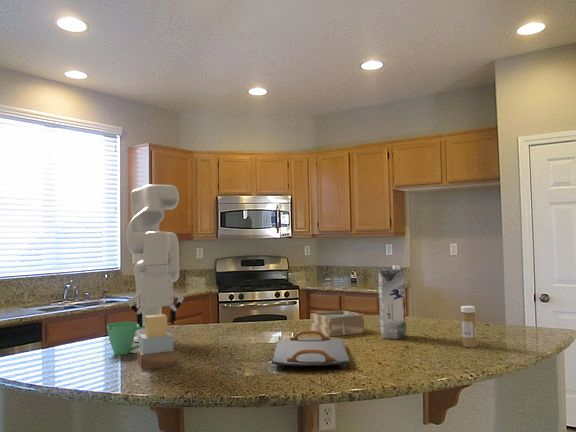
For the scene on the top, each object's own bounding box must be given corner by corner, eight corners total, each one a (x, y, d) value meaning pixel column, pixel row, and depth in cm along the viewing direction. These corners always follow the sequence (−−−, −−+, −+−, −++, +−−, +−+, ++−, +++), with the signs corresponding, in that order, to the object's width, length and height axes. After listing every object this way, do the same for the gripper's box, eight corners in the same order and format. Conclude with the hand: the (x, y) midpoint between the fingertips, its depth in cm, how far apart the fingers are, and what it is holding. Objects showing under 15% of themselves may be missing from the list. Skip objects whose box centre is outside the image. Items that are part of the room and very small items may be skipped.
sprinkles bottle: (479, 346, 161) (477, 306, 162) (471, 348, 159) (469, 307, 160) (468, 344, 165) (466, 305, 166) (459, 346, 163) (457, 306, 164)
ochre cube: (144, 334, 152) (144, 315, 153) (164, 332, 155) (163, 314, 155) (147, 337, 147) (147, 318, 147) (167, 335, 149) (167, 316, 150)
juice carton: (379, 339, 179) (376, 266, 181) (384, 334, 189) (382, 265, 190) (403, 340, 176) (400, 266, 177) (407, 335, 185) (404, 264, 187)
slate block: (139, 348, 153) (139, 334, 153) (167, 345, 157) (167, 331, 157) (143, 354, 145) (143, 339, 145) (173, 350, 148) (173, 336, 149)
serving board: (352, 373, 134) (351, 351, 134) (269, 375, 135) (269, 352, 135) (341, 345, 172) (341, 327, 173) (277, 346, 173) (277, 329, 174)
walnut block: (137, 363, 153) (137, 348, 153) (169, 359, 157) (169, 345, 157) (141, 370, 144) (141, 354, 144) (175, 366, 148) (174, 351, 148)
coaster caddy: (310, 330, 201) (310, 313, 201) (343, 326, 208) (343, 310, 208) (329, 336, 186) (329, 318, 187) (364, 332, 193) (363, 314, 194)
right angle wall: (357, 330, 198) (355, 312, 200) (344, 334, 189) (342, 314, 190) (331, 330, 205) (330, 313, 206) (317, 334, 195) (316, 315, 196)
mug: (103, 357, 161) (103, 326, 162) (111, 350, 171) (111, 322, 172) (147, 354, 163) (147, 325, 163) (153, 348, 172) (153, 320, 173)
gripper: (128, 272, 145) (129, 329, 144) (185, 269, 152) (186, 324, 152) (126, 271, 152) (126, 325, 151) (180, 268, 159) (181, 320, 158)
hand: (156, 324), depth 151 cm, fingers open, 9 cm apart
